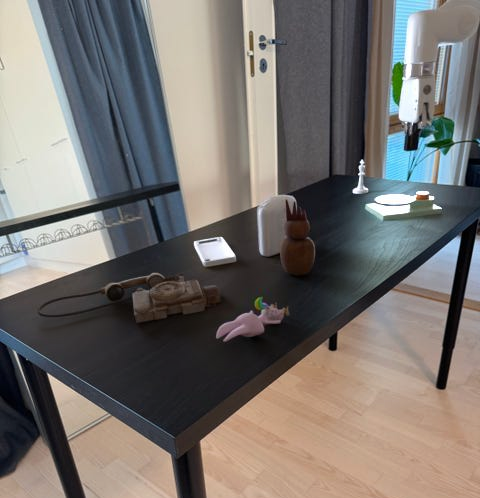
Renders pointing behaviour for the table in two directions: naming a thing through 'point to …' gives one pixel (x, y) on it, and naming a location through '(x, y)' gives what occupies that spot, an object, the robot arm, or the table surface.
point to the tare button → (422, 195)
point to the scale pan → (394, 200)
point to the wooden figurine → (297, 243)
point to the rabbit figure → (252, 321)
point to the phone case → (214, 252)
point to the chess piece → (361, 181)
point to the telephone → (154, 297)
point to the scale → (405, 209)
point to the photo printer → (272, 223)
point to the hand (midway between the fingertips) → (410, 150)
